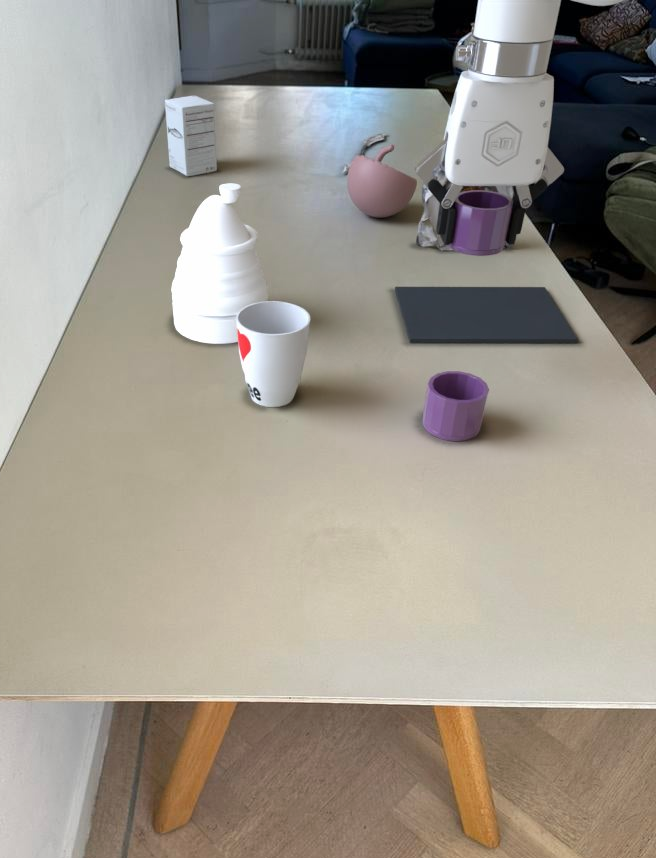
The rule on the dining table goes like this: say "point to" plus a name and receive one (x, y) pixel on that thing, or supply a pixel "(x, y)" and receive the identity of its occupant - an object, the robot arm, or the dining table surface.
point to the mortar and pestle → (379, 185)
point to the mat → (482, 315)
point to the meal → (431, 205)
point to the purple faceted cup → (454, 405)
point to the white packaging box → (191, 135)
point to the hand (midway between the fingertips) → (476, 238)
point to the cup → (272, 350)
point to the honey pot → (216, 271)
